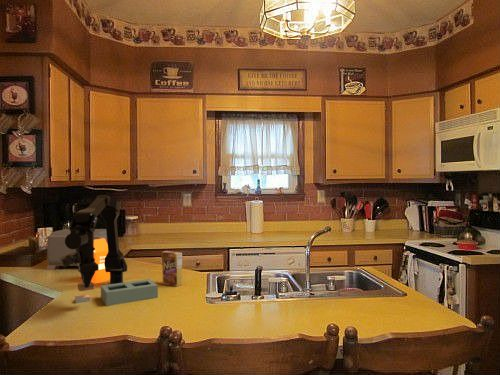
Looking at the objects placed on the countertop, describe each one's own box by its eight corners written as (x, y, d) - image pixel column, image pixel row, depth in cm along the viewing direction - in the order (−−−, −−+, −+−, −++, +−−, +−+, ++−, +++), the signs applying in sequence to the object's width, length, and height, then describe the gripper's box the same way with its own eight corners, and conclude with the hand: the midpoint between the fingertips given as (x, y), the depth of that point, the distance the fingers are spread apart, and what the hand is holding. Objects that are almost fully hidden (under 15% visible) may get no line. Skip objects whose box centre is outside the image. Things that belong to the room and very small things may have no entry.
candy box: (161, 284, 175) (161, 251, 175) (168, 282, 179) (167, 250, 179) (176, 287, 171) (176, 253, 170) (182, 284, 174) (182, 251, 174)
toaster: (109, 270, 205) (108, 232, 205) (45, 270, 206) (44, 232, 205) (121, 262, 225) (121, 228, 225) (62, 262, 225) (62, 228, 225)
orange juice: (84, 281, 181) (84, 240, 181) (99, 277, 189) (99, 237, 189) (95, 283, 177) (95, 241, 177) (110, 279, 185) (110, 238, 185)
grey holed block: (100, 297, 155) (100, 285, 154) (149, 290, 165) (149, 279, 165) (106, 306, 144) (106, 292, 144) (157, 297, 155) (157, 285, 155)
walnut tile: (77, 288, 143) (77, 283, 143) (92, 286, 145) (92, 281, 145) (79, 291, 139) (79, 285, 139) (93, 289, 142) (93, 284, 142)
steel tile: (74, 301, 151) (74, 296, 151) (88, 299, 154) (88, 294, 154) (76, 304, 148) (76, 299, 148) (89, 302, 151) (89, 297, 151)
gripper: (59, 243, 146) (59, 283, 146) (64, 250, 130) (64, 295, 130) (90, 241, 152) (90, 279, 152) (98, 247, 136) (98, 290, 136)
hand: (85, 286), depth 142 cm, fingers closed on walnut tile, 4 cm apart
